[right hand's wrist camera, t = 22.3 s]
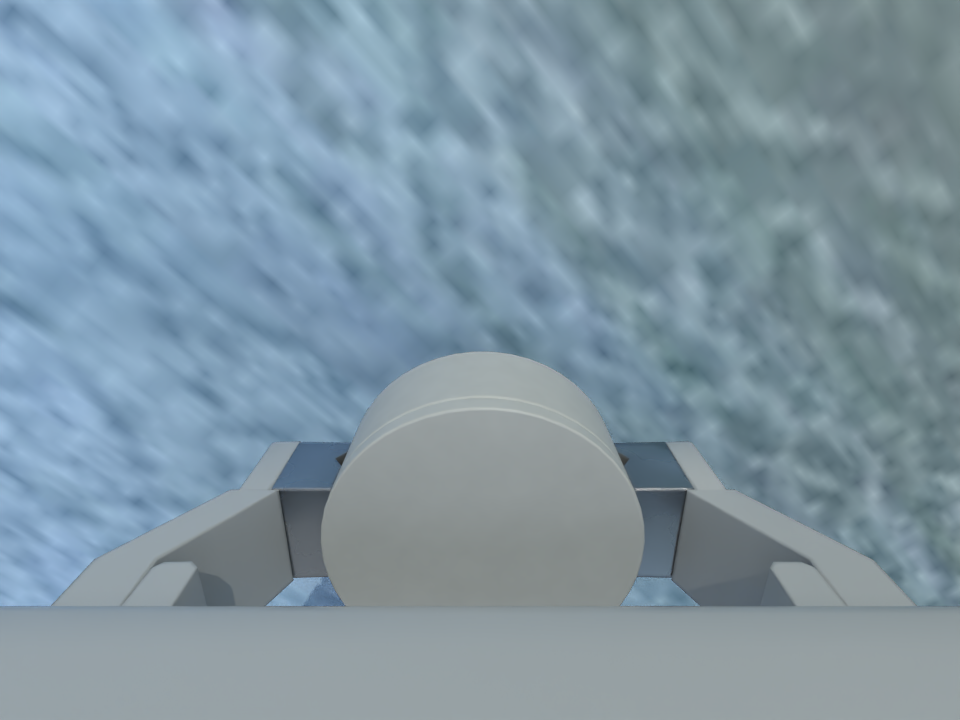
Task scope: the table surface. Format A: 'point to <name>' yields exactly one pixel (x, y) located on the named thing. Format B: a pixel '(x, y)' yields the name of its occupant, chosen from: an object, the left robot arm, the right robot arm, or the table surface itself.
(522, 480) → the lid
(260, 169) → the table surface
